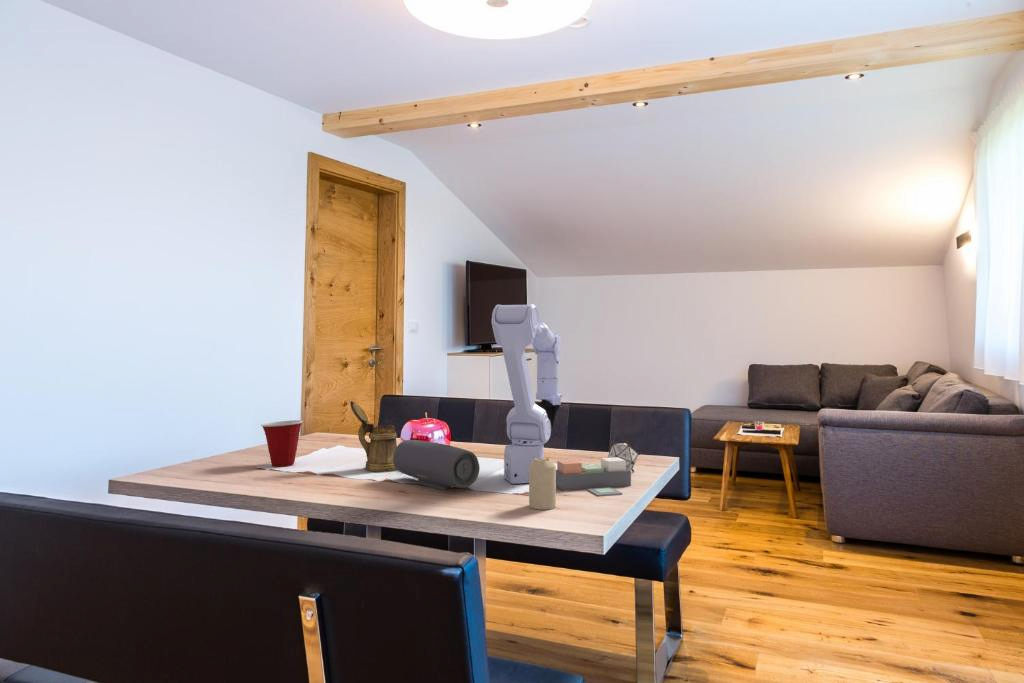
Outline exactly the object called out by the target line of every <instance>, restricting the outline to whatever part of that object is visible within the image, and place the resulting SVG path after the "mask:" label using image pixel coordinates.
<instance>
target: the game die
mask: <svg viewBox="0 0 1024 683" xmlns="http://www.w3.org/2000/svg"><path fill="white" fill-rule="evenodd" d="M610 444H611V448H610V450H609V453H608V456H607V457H606V458H613V457H618V458H621V459H623V460H626V469H628V470H630V471H631V473H635V470H634V467H635V464H636V461H637V458H638V457H639V455H642V452H637V451H636V450H635V449H634V448H633V447H631V443H628V440H627V439H626V440H625V442H621V443H620V442H619V443H614V442H613V441H610Z"/></svg>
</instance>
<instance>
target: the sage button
mask: <svg viewBox="0 0 1024 683" xmlns="http://www.w3.org/2000/svg"><path fill="white" fill-rule="evenodd" d="M582 471H583V472H585V473H594V472H604V468H602V467H601V465H598V464H588V465H587V464H586V465H585V464H584V465H583V464H582Z"/></svg>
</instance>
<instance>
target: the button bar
mask: <svg viewBox="0 0 1024 683" xmlns="http://www.w3.org/2000/svg"><path fill="white" fill-rule="evenodd" d="M630 486H632V470H628V469H626V471H610V472H608V471H606V470H604V472H594V473H585V472H583V471H582V473H577V474H561V473H560V472H558V471H557V469H556V489H559V490H560V491H571V490H587V489H591V488H606V487H612V488H614V487H615V488H616V487H630Z"/></svg>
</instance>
